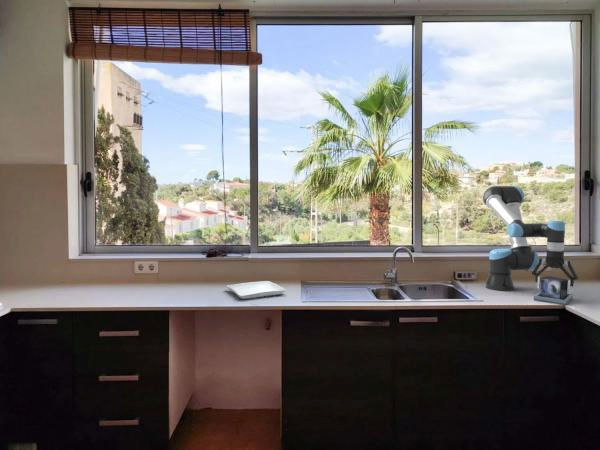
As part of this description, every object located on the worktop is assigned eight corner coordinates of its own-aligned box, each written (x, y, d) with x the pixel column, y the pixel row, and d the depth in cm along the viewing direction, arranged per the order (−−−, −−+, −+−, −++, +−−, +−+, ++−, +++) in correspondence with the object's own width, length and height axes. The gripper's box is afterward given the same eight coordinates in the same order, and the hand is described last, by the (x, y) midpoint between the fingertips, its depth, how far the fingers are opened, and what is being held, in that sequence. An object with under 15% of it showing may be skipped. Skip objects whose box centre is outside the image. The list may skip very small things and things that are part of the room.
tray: (533, 300, 198) (533, 295, 198) (542, 294, 211) (542, 290, 211) (566, 305, 189) (566, 300, 188) (572, 298, 201) (572, 294, 201)
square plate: (225, 291, 223) (225, 284, 223) (268, 286, 236) (268, 280, 235) (240, 301, 199) (240, 294, 199) (287, 295, 212) (287, 288, 211)
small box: (539, 296, 203) (540, 276, 203) (547, 295, 206) (548, 275, 205) (559, 300, 194) (560, 280, 193) (567, 299, 196) (568, 279, 196)
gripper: (526, 248, 204) (524, 287, 206) (583, 253, 187) (581, 295, 188) (530, 247, 210) (528, 285, 211) (586, 251, 192) (584, 292, 194)
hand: (553, 290), depth 200 cm, fingers open, 13 cm apart
